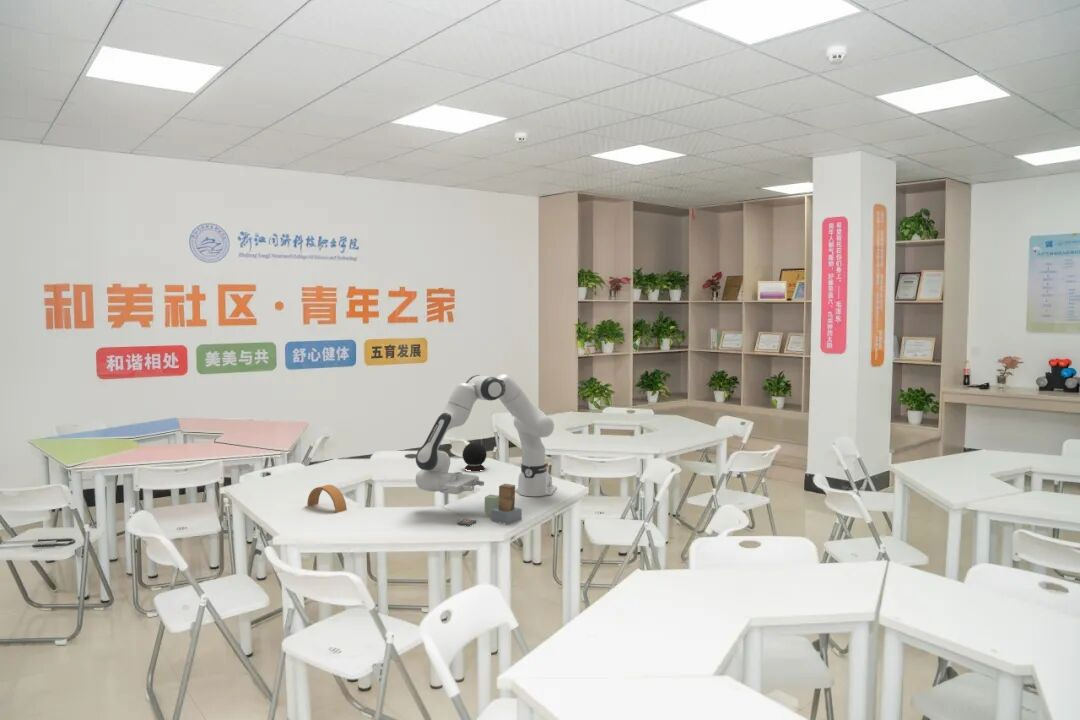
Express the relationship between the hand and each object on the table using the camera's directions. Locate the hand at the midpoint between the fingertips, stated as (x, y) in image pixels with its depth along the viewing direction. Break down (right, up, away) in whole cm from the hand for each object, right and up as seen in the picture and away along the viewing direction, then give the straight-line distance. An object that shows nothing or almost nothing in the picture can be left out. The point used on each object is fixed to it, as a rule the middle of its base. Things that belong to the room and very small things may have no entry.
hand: (478, 486), depth 313 cm
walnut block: (+12, -9, -5) cm, 16 cm away
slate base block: (+12, -14, -4) cm, 19 cm away
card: (-4, -14, -9) cm, 17 cm away
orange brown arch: (-69, -12, +14) cm, 71 cm away
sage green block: (+6, -13, +4) cm, 15 cm away
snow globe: (-10, -7, +91) cm, 91 cm away
